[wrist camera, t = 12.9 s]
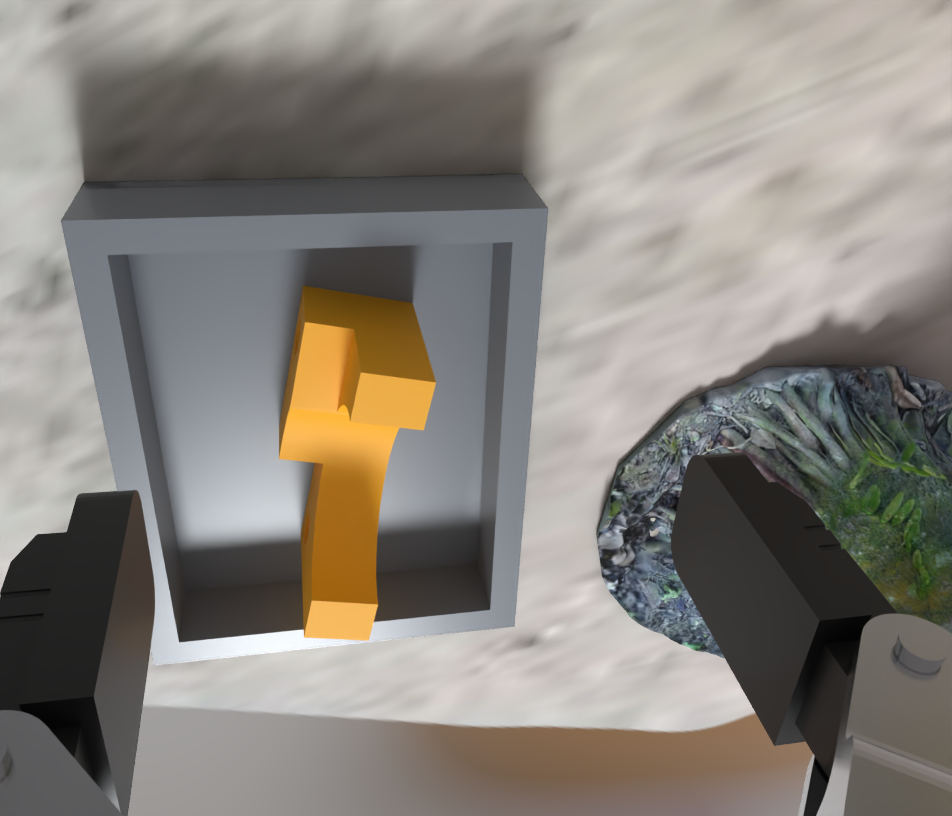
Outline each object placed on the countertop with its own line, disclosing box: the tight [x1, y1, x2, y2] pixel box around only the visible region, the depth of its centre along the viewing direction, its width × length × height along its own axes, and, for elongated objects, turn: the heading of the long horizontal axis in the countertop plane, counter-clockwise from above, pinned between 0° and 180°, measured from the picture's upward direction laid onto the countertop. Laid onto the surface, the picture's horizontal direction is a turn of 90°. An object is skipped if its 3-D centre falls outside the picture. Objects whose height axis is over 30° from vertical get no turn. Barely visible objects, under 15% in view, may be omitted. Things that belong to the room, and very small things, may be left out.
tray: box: [61, 174, 548, 665], centre depth 37 cm, size 16×20×4 cm
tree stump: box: [596, 365, 952, 658], centre depth 42 cm, size 18×20×18 cm
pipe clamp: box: [279, 286, 436, 641], centre depth 35 cm, size 12×4×6 cm, turn 165°
